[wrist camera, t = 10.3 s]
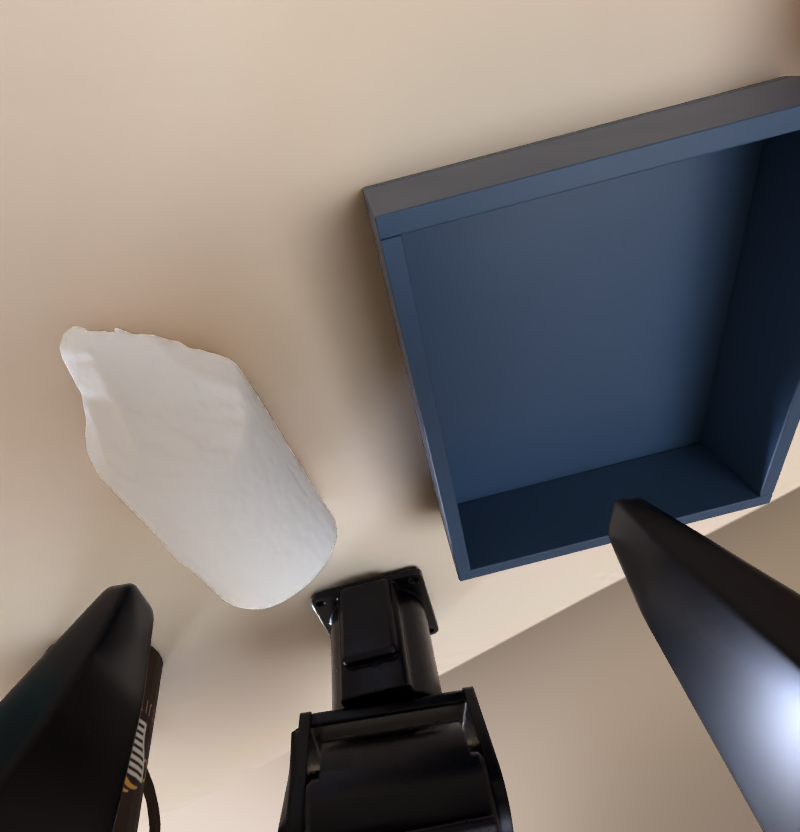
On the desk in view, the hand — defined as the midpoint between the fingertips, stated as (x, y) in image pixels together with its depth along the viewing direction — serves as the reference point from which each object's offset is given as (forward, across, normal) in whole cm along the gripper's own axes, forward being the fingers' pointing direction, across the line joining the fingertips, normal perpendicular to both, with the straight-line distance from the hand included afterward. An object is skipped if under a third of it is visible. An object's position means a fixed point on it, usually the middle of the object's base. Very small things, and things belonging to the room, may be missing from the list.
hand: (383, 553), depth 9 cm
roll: (+11, +6, +4) cm, 13 cm away
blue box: (+11, -9, +3) cm, 15 cm away
